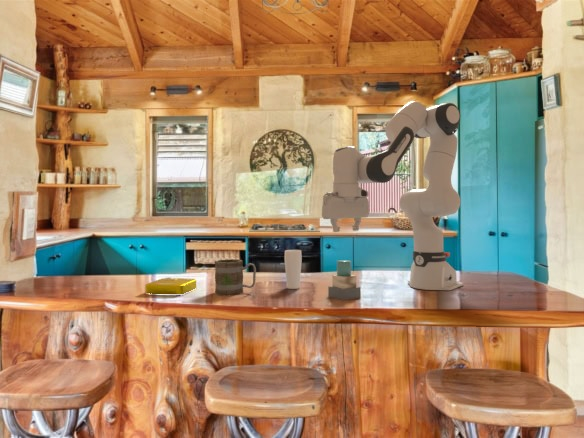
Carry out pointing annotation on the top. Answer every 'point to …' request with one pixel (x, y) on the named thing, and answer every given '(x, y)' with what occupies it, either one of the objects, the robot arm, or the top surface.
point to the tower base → (343, 293)
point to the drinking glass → (293, 268)
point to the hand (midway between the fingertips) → (346, 231)
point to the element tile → (170, 286)
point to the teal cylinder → (343, 268)
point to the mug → (231, 277)
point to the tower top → (344, 281)
